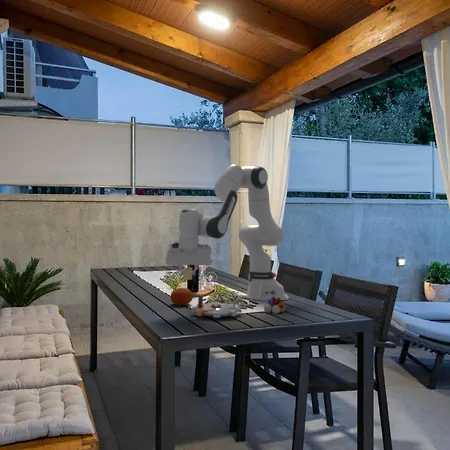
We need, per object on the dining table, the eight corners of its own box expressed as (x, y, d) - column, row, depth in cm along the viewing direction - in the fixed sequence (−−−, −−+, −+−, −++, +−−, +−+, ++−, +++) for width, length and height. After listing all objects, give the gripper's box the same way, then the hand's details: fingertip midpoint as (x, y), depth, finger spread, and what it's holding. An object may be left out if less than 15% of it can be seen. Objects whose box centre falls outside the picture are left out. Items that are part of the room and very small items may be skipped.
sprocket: (209, 304, 227) (209, 290, 227) (249, 310, 216) (249, 295, 215) (181, 312, 209) (181, 296, 208) (223, 319, 197) (224, 303, 197)
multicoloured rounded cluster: (279, 315, 215) (280, 299, 215) (260, 312, 220) (261, 296, 220) (287, 312, 222) (288, 296, 222) (269, 309, 227) (269, 294, 227)
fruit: (182, 301, 241) (183, 286, 241) (196, 305, 233) (196, 288, 233) (165, 304, 233) (166, 288, 233) (179, 307, 226) (179, 291, 226)
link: (191, 277, 219) (191, 267, 219) (191, 279, 213) (192, 268, 213) (184, 277, 219) (184, 267, 219) (184, 279, 213) (184, 268, 213)
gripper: (211, 244, 219) (210, 274, 220) (166, 243, 218) (165, 273, 218) (212, 245, 213) (211, 276, 214) (165, 244, 211) (165, 275, 212)
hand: (188, 274), depth 216 cm, fingers closed on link, 3 cm apart
